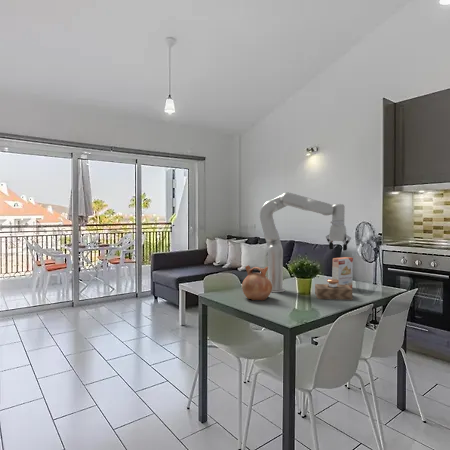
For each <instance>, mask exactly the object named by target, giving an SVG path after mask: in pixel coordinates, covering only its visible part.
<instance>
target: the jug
mask: <svg viewBox="0 0 450 450" xmlns="http://www.w3.org/2000/svg"><path fill="white" fill-rule="evenodd" d="M244 268H245V270H246V273H247V276H246V277H245V278H244V279H243V281H242V283H241V289H242V292H243V294H244V295H245V297H246V298H248V299H247V300H249V299H252V300H251V301H254V300H261V301H265V300H267V299H268V297H269V296H270V295H271V293H272V292H271V291H272V283H271V281H270V280H269V279H268V276H267V275H266V274H267V273H268V266H265V267H262V268H261V267H259V266H254V267H252V268H251V267H250V265H248V264H247V265H246V266H245V267H244ZM254 270H257V271H259V272H253V271H254Z"/></svg>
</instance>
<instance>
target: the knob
mask: <svg viewBox="0 0 450 450" xmlns="http://www.w3.org/2000/svg"><path fill="white" fill-rule="evenodd" d="M326 282H327V283H328V284H329V288H337V283H339V280H337V279H332V278H328V279H327V280H326Z"/></svg>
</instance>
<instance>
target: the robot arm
mask: <svg viewBox="0 0 450 450" xmlns="http://www.w3.org/2000/svg"><path fill="white" fill-rule="evenodd" d="M287 206H288V207H291V208H295V209H298V210H301V211H302V210H303V211H307V212H313V213H317V214H320V215H323V216H331V221H330V224H331V225H330V228H329V234H328V235H326V236H325V239H326V241H327V242H328V246H329V247H328V248H329V250H334V243H333V242H342V243H343V244H342V246H343V247H342V251H344V252H346V251H347V250H348V245H349V243H350V242H351V239H352V237H350V236H349V235H347V228H346V225H345V214H346V213H345V212H346V211H345V209H346V208H345V206H346V205H345V204H343V203H334V204H330V203H328V202H324V201H321V200H317V199H313V198H310V197H306V196H303V195H300V194H296V193H293V192H290V191H289V192H288V191H287V192H286V191H285V192H283V193H282V194H281V195H279V196H276V197H275V198H273V199H269V200H266V201H265V203H264V204H262V206H261V208H260V210H259V220H260V221H259V222H260V225H261V228H262V233H263V237H264V239H265V242H266V243H265V244H266V246H267V265H268V270H267V273H268V274H267V278H268V279H269V280H270V281H271V283H272V291H271V293H275V294H276V293H284V292H285V291H286V288H285V287H284V285H283V284H284V283H283V282H284V281H283V280H284V279H283V278H284V274H283V271H284V268H283V267H284V264H283V262H284V261H283V260H284V249H283V245H282V242H281V238H280V235H279V232H278V229H277V228H276V223H275V219H274V215H273V214H275V212H278V211H279V210H282V209H284V208H285V207H287Z"/></svg>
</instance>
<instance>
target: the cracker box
mask: <svg viewBox="0 0 450 450" xmlns="http://www.w3.org/2000/svg"><path fill="white" fill-rule="evenodd" d="M331 266H332V267H331V268H332V270H331V271H332V273H331V276H332V277H331V279H337V280H339V283H337V285H348V286H349V287H350V288H351V289H353V274H354V273H353V272H354V271H353V269H354V268H353V267H354V258H353V257H349V256H343V257H333V258H332V265H331Z"/></svg>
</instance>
